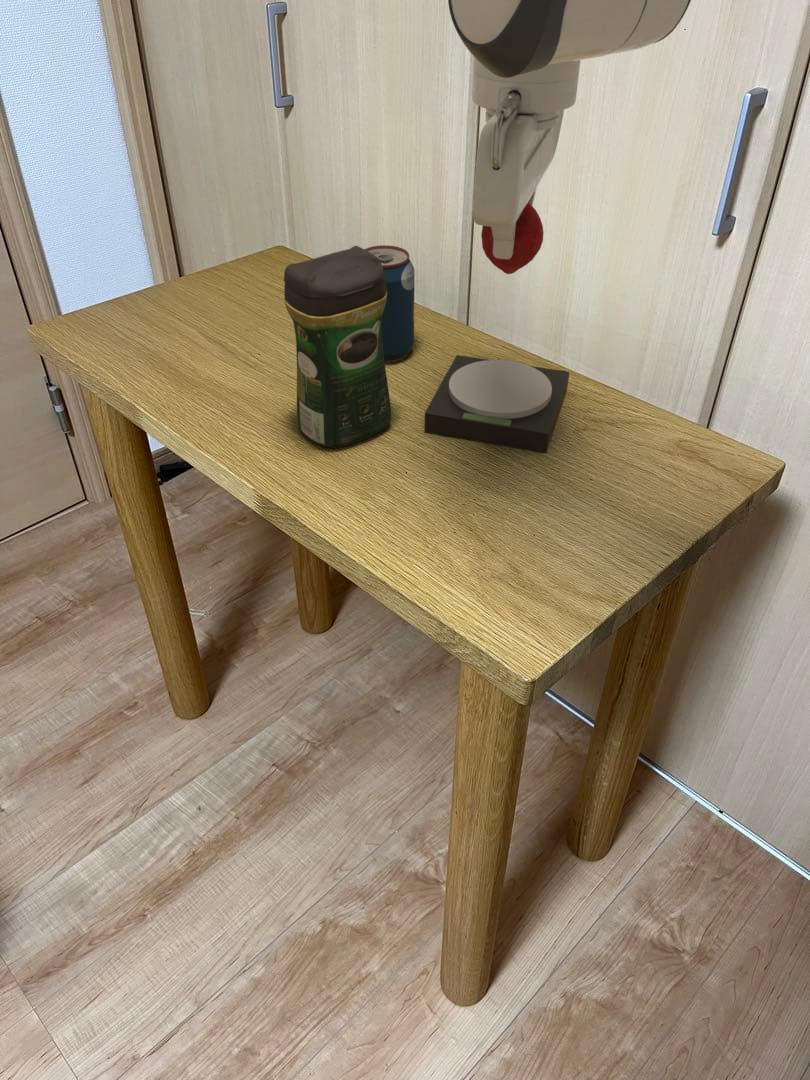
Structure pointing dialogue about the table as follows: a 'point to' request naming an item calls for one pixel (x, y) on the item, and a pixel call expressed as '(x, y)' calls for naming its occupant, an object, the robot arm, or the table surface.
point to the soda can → (397, 301)
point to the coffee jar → (339, 346)
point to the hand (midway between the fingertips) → (512, 241)
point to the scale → (498, 403)
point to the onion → (517, 241)
